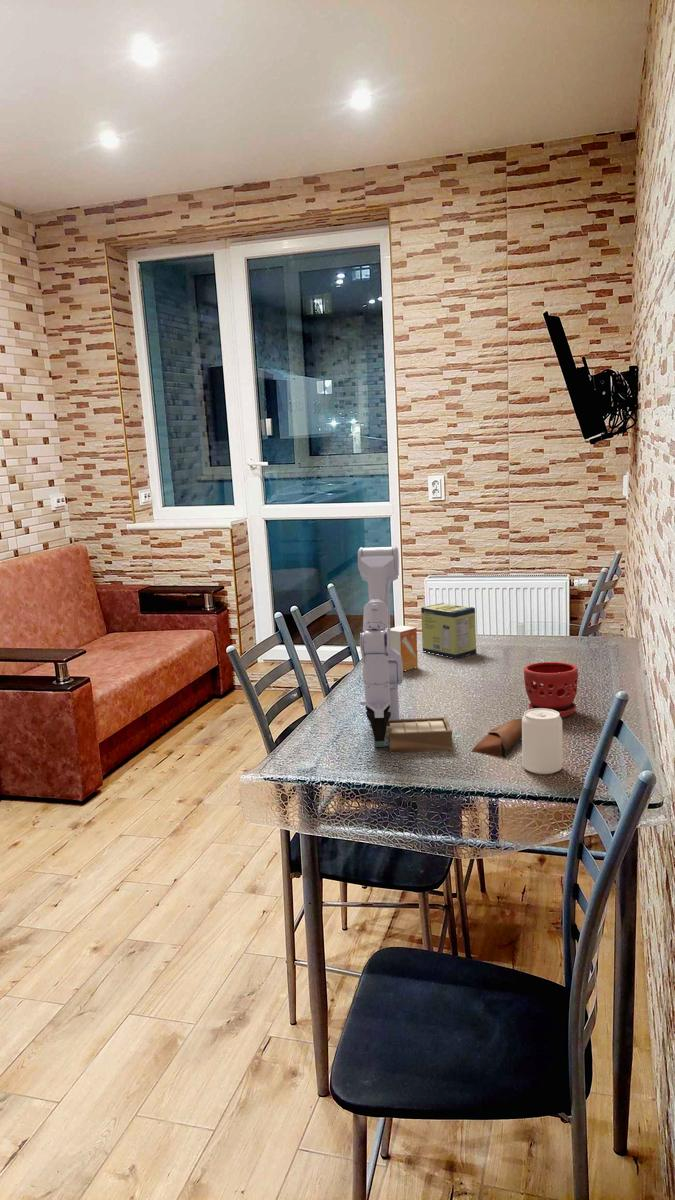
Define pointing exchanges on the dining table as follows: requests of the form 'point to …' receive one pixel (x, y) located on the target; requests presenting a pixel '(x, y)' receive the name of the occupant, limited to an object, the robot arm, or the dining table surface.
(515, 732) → the sunglasses case
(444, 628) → the protein box
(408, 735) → the brown wooden flat box
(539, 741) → the beverage can
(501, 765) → the dining table surface
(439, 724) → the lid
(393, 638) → the small box
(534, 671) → the plant pot
